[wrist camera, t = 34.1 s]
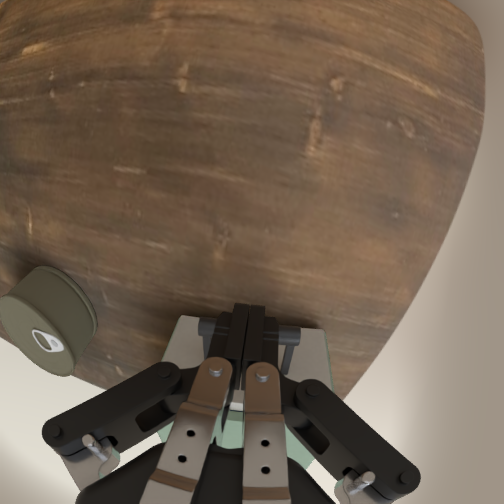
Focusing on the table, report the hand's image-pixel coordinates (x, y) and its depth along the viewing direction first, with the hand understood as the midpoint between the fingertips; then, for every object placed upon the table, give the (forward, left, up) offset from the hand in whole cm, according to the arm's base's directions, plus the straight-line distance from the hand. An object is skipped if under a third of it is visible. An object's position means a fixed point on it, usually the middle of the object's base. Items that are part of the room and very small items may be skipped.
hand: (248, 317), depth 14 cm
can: (+24, +12, -10) cm, 29 cm away
